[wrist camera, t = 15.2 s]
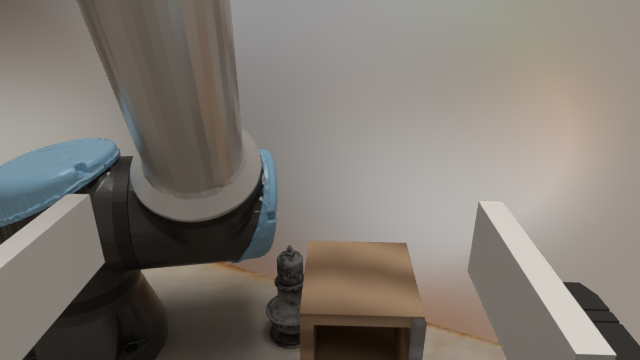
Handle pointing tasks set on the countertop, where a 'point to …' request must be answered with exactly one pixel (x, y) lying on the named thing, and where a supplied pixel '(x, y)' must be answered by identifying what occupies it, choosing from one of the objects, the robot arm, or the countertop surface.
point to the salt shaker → (287, 300)
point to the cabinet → (360, 303)
